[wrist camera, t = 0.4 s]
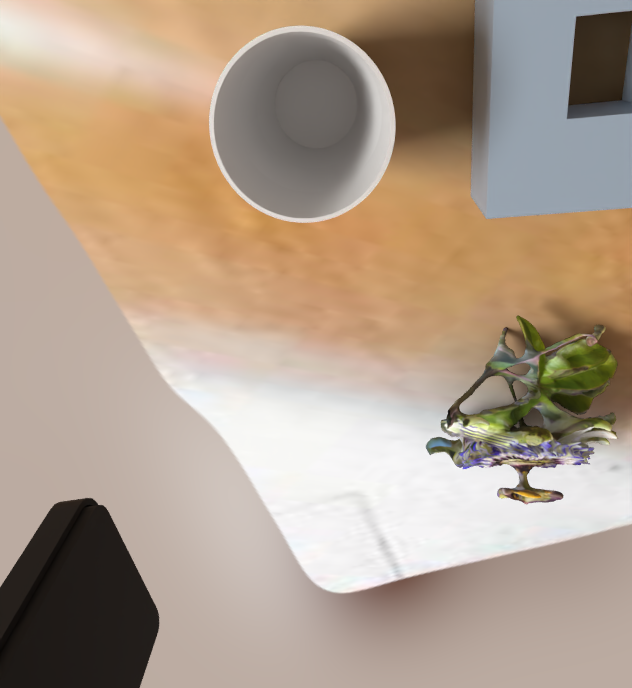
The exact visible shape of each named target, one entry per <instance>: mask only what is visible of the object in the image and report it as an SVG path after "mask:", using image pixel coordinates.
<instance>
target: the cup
mask: <svg viewBox="0 0 632 688" xmlns="http://www.w3.org/2000/svg"><path fill="white" fill-rule="evenodd" d="M395 126H396V124H395V112H394V106H393V101H392V98H391V94H390V91H389V89H388V86H387V84H386V82H385V80H384V78H383V76H382V74H381V72H380V71H379V69H378V68H377V66H376V65H375V63H374V62H373V61H372V60H371V59H370V57H369V56H368V55H367V54H366V53H365V52H364V51H363V50H362V49H360V48H359V47H358V46H357V45H356V44H354V43H353V42H351V41H350V40H348V39H347V38H345V37H343V36H341V35H339V34H337V33H335V32H332V31H329V30H326V29H323V28H318V27H312V26H289V27H283V28H279V29H275V30H272V31H269V32H267V33H264V34H262V35H260V36H258V37H257V38H255V39H253V40H252V41H250V42H249V43H248V44H246V45H245V46H244V47H243V48H241V49H240V50H239V51H238V52H237V53H236V54H235V55H234V56H233V58H232V59H231V60H230V61H229V63H228V64H227V66H226V67H225V69H224V70H223V72H222V74H221V76H220V78H219V80H218V82H217V84H216V87H215V90H214V93H213V97H212V101H211V106H210V115H209V129H210V138H211V144H212V148H213V152H214V155H215V158H216V160H217V163H218V165H219V167H220V169H221V171H222V173H223V175H224V176H225V178H226V180H227V181H228V182H229V184H230V185H231V186H232V188H233V189H234V190H235V191H236V192H237V193H238V194H239V195H240V196H241V197H242V198H243V199H244V200H245V201H246V202H248V203H249V204H250V205H251V206H253V207H254V208H256V209H258V210H259V211H261V212H263V213H265V214H267V215H269V216H272V217H275V218H278V219H281V220H285V221H291V222H300V223H308V222H318V221H323V220H327V219H331V218H334V217H336V216H339V215H341V214H343V213H345V212H347V211H349V210H350V209H352V208H353V207H355V206H356V205H358V204H359V203H360V202H361V201H363V200H364V199H365V198H366V197H367V196H368V195H369V194H370V193H371V192H372V190H373V189H374V188H375V187H376V185H377V184H378V182H379V181H380V179H381V178H382V176H383V174H384V172H385V170H386V168H387V166H388V163H389V161H390V158H391V155H392V151H393V146H394V141H395Z"/></svg>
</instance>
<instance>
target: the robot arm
mask: <svg viewBox="0 0 632 688" xmlns="http://www.w3.org/2000/svg"><path fill="white" fill-rule="evenodd" d="M158 629H159V614H158V610H157V608H156V606H155V604H154V602H153V600H152V598H151V596H150V594H149V592H148V590H147V588H146V586H145V584H144V582H143V580H142V578H141V576H140V574H139V572H138V570H137V568H136V566H135V564H134V562H133V560H132V558H131V556H130V554H129V552H128V550H127V548H126V546H125V544H124V542H123V540H122V538H121V536H120V534H119V532H118V530H117V528H116V526H115V524H114V522H113V520H112V518H111V516H110V514H109V512H108V510H107V509H106V508H105V507H104V506H103V505H98V504H97V502H96V501H95V500H93V499H92V498H85V499H78V500H71V501H64V502H59V503H57V504H55V505H54V506H53V507H52V508H51V509H50V511H49V512H48V514H47V516H46V517H45V519H44V520H43V522H42V524H41V525H40V527H39V528H38V530H37V531H36V533H35V534H34V536H33V538H32V539H31V541H30V542H29V544H28V545H27V547H26V548H25V550H24V552H23V553H22V555H21V556H20V558H19V559H18V561H17V562H16V564H15V565H14V567H13V569H12V570H11V572H10V573H9V575H8V576H7V578H6V579H5V581H4V583H3V584H2V586H1V587H0V688H140V685H141V681H142V679H143V676H144V673H145V670H146V667H147V664H148V661H149V657H150V655H151V652H152V648H153V645H154V643H155V639H156V637H157V633H158Z"/></svg>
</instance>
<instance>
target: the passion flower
mask: <svg viewBox="0 0 632 688" xmlns="http://www.w3.org/2000/svg"><path fill="white" fill-rule="evenodd" d="M516 318H517V320H518V322H519V324H520V326H521V329H522V331H523V334H524V337H525V342H526V350H525V354H524V355H523V356H522V357H521V358H516V357H515V354H514V351H513V350H512V349H510V348H508V347H507V345H506V343H505V336H506V333H507V329H508V328H504V329H503V332H502V335H501V337H500V340H499V344H498V347H497V349H496V351H495V354H494V356H493V357H492V358H491V360H490V361H489V362H488V363H487V364H486V368H485V371H484V373H483V375H482V376H481V377H480V378H479V379H478V380H477V381H476V382H475V383H474V385H473V386H472V387H471V388H470V389H469V390H468V391H467V392H466V393H465V394H464V395H463V396H462V397H461V398H459V399H458V400H456V401H455V403H454V404H453V405H452V406H451V408H450V409H449V410H448V415H447V419H445V420H442V421H441V428H442V430H443V431H444V432H445V433H447V434H448V435H450V436H451V437H458V438H459V439H458V440H456V441H454V440H448V439H445V438H442V437H436V438H432V439H431V440H430V441H429V442H428V443H427V445H426V449H427V451H428V452H429V454H430V455H431V454H434V453H439V452H446V453H447V454H448V455H449V456H450V457H451V458H452V460H453V461H454V463H455V465H456V466H457V467H459V468H461V467H462V466H463V469H467V468H469V467H472V466H479V467H482V468H483V467H485V468H486V467H493V466H497V465H499V466H501V465H502V464H508V465H510V466H512V467H513V468H515V470H516V471H517V472H518V474H519V479H520V481H519V484H518V485H517V487H516V488H513V489H510V488H500V489H499V490H498V493H497V496H498V497H500V498H511V499H513V500H519V501H522V502H523V503H525V504H528V503H534V502H554V501H555V500H561V499H562V498H563V494H562V493H560V492H558V491H551V490H543V489H535V488H532V487H530V486H529V484H528V480H527V474H528V473H529V471H530V470H531V469H532V468H533V467H534V466H537V467H542V468H548V467H554V468H555V467H556V465H557V464H562V465H565V464H567V465H571V464H573V465H581V463H583V464H590V463H588V461H587V459H586V458H588V459H590V456H589V455H590V454H594V452H593V449H594V448H592V447H589V446H588V445H586V444H588V443H599V444H603V445H610V443H609V441H608V440H607V439H606V438H610V439H618V438H617V436H616V432H614V431H612V426H611V425H613V424H614V423H615V421H616V416H615V414H614V413H613V412H612V413H610V415H606V416H605V417H602V416H599V417H596V418H592V417H589V418H586V419H581V418H577V417H574V416H571V415H569V414H568V413H566V412H564V411H561V410H560V409H559V408H557V407H556V406H555V405H554V404H553V403H552V402H557V403H559V404H560V405H561V406H562V407H564V408H566V409H568V410H570V411H571V412H574V413H576V414H577V415H578V414H584V413H586V411H587V410H588V409H589V407H590V405H591V403H592V400H593V398H594V397H596V396H597V395H598V394H601V393H603V392H604V391H605V388H606V387H607V386H609V385H610V381H609V378H613V376H614V374H615V371H616V368H617V360H616V359H615V358H614V357H613V355H612V354H611V351H610V350H608V349H607V348H605V347H603V346H601V345H599V344H597V342H598V340H599V339H600V336H601V335H602V333H604V332H605V329H606V328H605V327H604V326H603V325H596V326H595V327H594V330H595V332H594V333H593V334H576V335H574V336H572V337H569V338H566V339H565V340H562V341H560V342H557V343H555V344H554V345H551V346H549V347H547V348H546V349H545V346H544V344H543V342H542V340H541V338H540V335H539V333H538V332H537V330H536V329H535V327H534V326H533V325H532V324H531V323H529V322H528V321H527V320H526V319H524V318H522V317H520V316H519V315H518V316H517V317H516ZM582 336H587V338H586V339H579V340H576V339H578V338H579V337H582ZM574 340H576V341H574ZM572 341H574V342H572ZM568 342H571V343H569V344H567V345H565V346H563V347H562V348H560V349H559V350H557V351H556V352H553V353H552V354H551V355H549V356H546V355H545V353H547V352H549V351H551V350H554V349H557V348H558V347H559V346H561V345H564V344H566V343H568ZM521 363H527V364H528V365H529V366H530V367H531V369H530V370H529V372H528V373H527V374H526V375H518V374H515V373H512V372H510V371H509V370H508V369H507V368H508V367H512V366H514V365H517V364H521ZM491 376H503V377H504V378H505V379H506V380H507V382H508V385H509V388H510V391H511V393H512V395H513V398H514V400H515V402H514V403H513V404H511V405H508V406H503V407H498V408H495V409H490V410H483V411H482V412H480V413H479V414H473V415H467V414H463V413H462V412H461V411H460V409H459V406H460V404H461V403H462V402H463V401H464V400H466V399H467V398H468V397H469V396H470V395H472V394H473V392H474V391H475V389H477V388H478V387H479V386H480V385H481V383H483V382H484V380H485V379H486V378H488V377H491ZM515 380H518V381H521V382H523V383H524V384H525V385H526V386H527V387H528V392H527V394H526V395H525V396H523V397H522V398H521V399H519V400H517V399H516V396H515V392H514V389H513V385H512V384H513V382H514V381H515ZM551 401H552V402H551ZM532 408H536V409H538V410H539V411H540V413H541V414H542V417H543V420H544V423H543V427H542V428H540V427H538V426H527V425H526V424H525V422H524V419H523V417H524V416H526V415H527V414H528V413H529V411H530V410H531V409H532ZM518 421H519V424H520V428H516V427H515V426H514V425H516V424H517V423H518Z"/></svg>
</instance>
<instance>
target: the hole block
mask: <svg viewBox="0 0 632 688" xmlns="http://www.w3.org/2000/svg"><path fill="white" fill-rule="evenodd" d="M623 11H632V0H475V29H474V74H473V118H472V163H471V197H472V199H473V200H474V202H475V203H476V205H477V206H478V207H479V209H480V210H481V212H482V213H483V215H484V216H485V218H486V219H491V218H504V217H517V216H530V215H543V214H556V213H570V212H583V211H596V210H609V209H622V208H632V25H631V33H630V40H629V48H628V56H627V64H626V72H625V79H624V87H623V95H622V100H619V101H608V102H597V103H586V104H576V105H568V100H569V89H570V78H571V67H572V56H573V45H574V34H575V23H576V16H585V15H595V14H604V13H613V12H623Z"/></svg>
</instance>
